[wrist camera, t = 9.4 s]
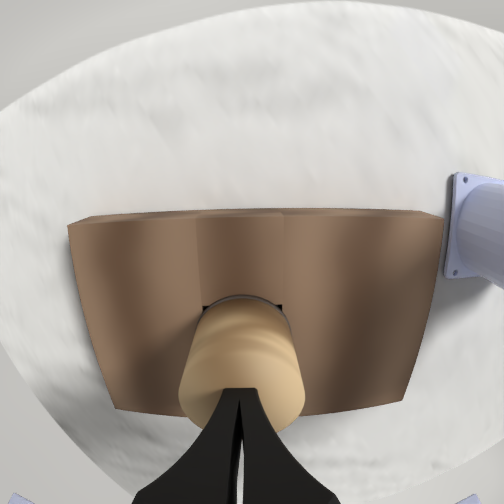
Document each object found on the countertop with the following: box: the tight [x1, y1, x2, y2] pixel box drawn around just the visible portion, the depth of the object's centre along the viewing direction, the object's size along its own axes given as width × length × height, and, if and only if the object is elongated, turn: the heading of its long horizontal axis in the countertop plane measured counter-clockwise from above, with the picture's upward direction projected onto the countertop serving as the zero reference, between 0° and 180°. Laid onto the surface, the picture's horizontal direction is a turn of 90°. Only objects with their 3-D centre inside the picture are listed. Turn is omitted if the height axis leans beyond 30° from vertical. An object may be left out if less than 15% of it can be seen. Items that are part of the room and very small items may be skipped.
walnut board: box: [67, 208, 444, 417], centre depth 18 cm, size 22×14×3 cm, turn 91°
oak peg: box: [178, 294, 305, 433], centre depth 15 cm, size 6×6×8 cm
